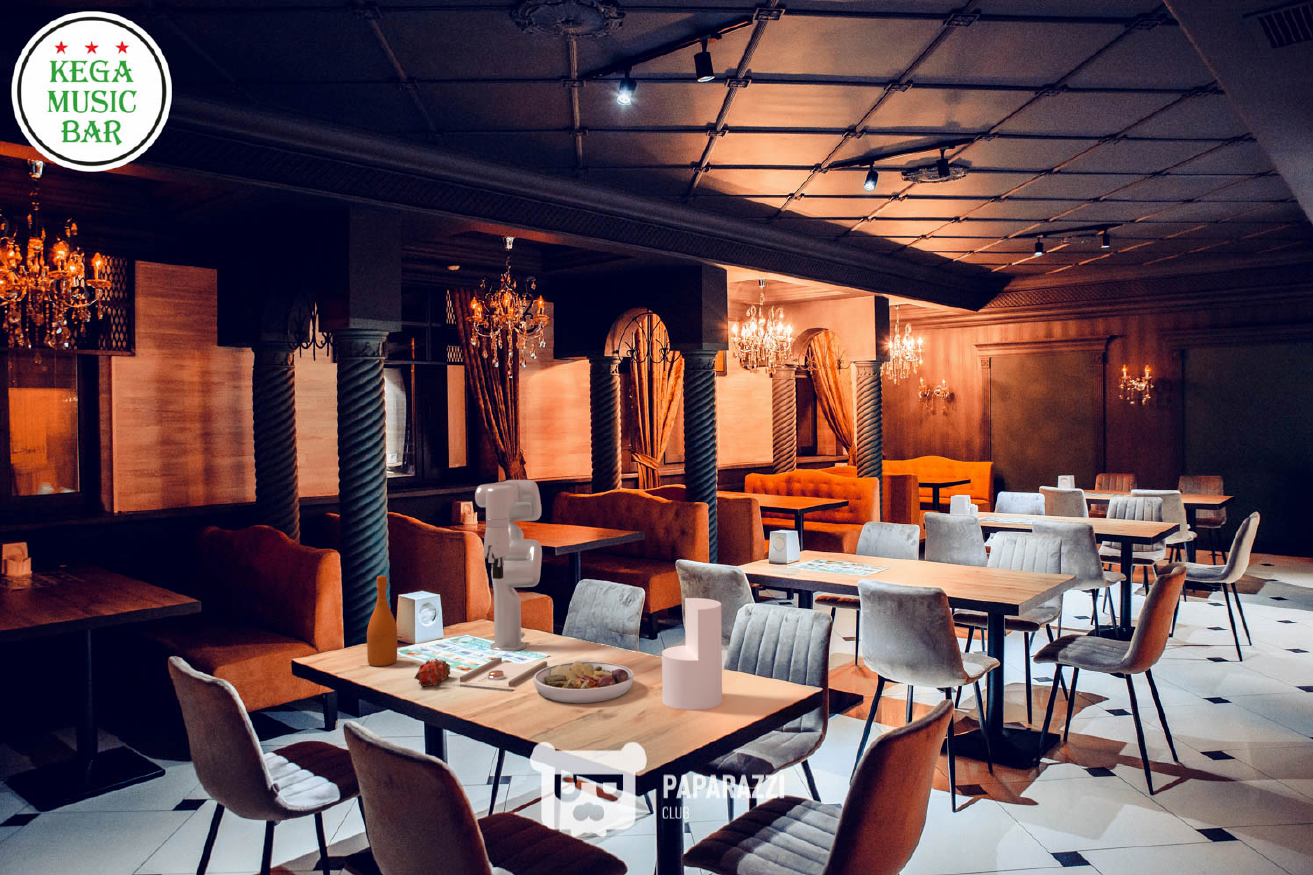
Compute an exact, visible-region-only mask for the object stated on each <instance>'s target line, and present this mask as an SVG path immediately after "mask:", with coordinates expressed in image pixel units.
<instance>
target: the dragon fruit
mask: <svg viewBox="0 0 1313 875" xmlns="http://www.w3.org/2000/svg"><path fill="white" fill-rule="evenodd" d="M450 675H451V664H449V663H447V661H446V660H443V659H442V660H439V659H437V658H434V660H433V661H432V660H427V661H425V663H423V664H421V665H420V666H419V670H418V671H417V673H416V674H415V676H414V680H418V683H417V684H418V685H420V686H421V687H429V686H432V685H433V687H434V688H436V687H437V686H439V685H441V684H443V682H444V681H445V680H448V679H449V678H450ZM442 681H443V682H442Z"/></svg>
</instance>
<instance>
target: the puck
mask: <svg viewBox="0 0 1313 875" xmlns="http://www.w3.org/2000/svg"><path fill="white" fill-rule="evenodd" d="M487 679H488V680H489V681H499V680H504V679H505V675H504V673H503V671H500V670H495V671H490V672H489V675H488V676H487Z"/></svg>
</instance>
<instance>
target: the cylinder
mask: <svg viewBox="0 0 1313 875" xmlns="http://www.w3.org/2000/svg"><path fill="white" fill-rule="evenodd" d="M684 601H685V603H684V610H685V611H684V612H685V614H684V616H685V618H684V619H685V624H684V628H685V634H684V635H685V645H676V646H671V647H668V648H665V649H663V651H662V652H661V674H662V675H661V686H662V688H661V696H662V697H661V698H662V703H663V704H664V705H665V706H667V707H670V708H673V709H677V710H683V711H701V710H709V709H713V708H715V707H718V706H719V705H721V704H722V702H723V668H722V667H723V664H722V662H723V660H722V658H723V654H722V650H723V648H722V640H723V639H722V603H721V602H720V601H719V600H716V599H711V598H704V597H703V598H701V597H685V598H684Z"/></svg>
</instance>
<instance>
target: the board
mask: <svg viewBox="0 0 1313 875" xmlns="http://www.w3.org/2000/svg"><path fill="white" fill-rule="evenodd" d="M502 659H503V658H502V657H497V658H495V659H492V660H491V661H489V662H487V663H485V664H483V665H480V666H479V667H477V668H474V669H473V670H471V671H469V672H467V673H465V674H463V675H461V676H459V683H461V684H459V687H460V688H468V689H469V688H470V689H478V690H479V689H480V690H489V691H499V692H509V693H510V692H511V693H512V692H514V691H516V689H512V688H514V687H515V686H517V685H519V684H520V683H522V682H523V681H525V680H527V679H529V678H530V677H532V676H534V675H535V674H536V673H537V672H538V671H540V670H542V669H544V668H547V667H548V661H542V662H540V663H538V664H526V663H515V662H504V661H503V660H502ZM495 670H500V671H503V673H504V676H505V677H506V676H507V677H508V676H509V677H510V678H508V679H506V680H505V681H502V682H501V683H491V682H483V681H482V682H481V680H483V679H486V678H488V675H489V672H490V671H495ZM462 683H467V684H462ZM470 684H471V685H470ZM472 684H477V685H472ZM482 685H487V686H482ZM491 686H493V687H491ZM494 686H497V687H494ZM498 686H499V687H498ZM502 687H507V688H502Z"/></svg>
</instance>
